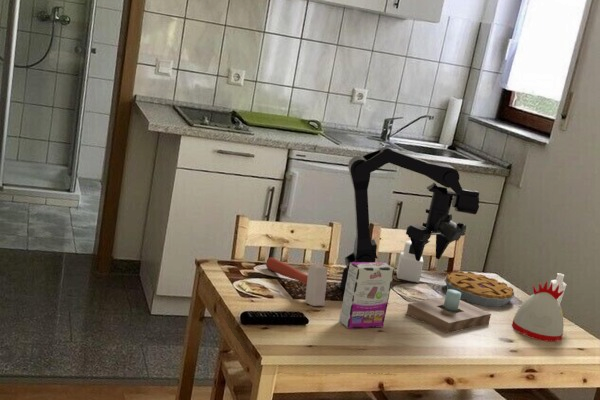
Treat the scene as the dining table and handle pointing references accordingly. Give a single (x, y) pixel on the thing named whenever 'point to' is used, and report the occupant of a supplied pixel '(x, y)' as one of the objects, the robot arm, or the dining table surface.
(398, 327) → the dining table surface
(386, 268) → the candy bar box
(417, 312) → the socket board
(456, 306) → the stepped peg
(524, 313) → the kitchen timer
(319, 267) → the mallet
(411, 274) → the medicine bottle
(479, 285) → the pie
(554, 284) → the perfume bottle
